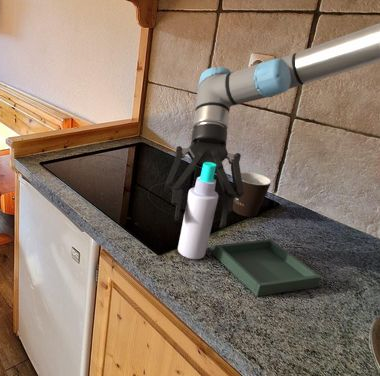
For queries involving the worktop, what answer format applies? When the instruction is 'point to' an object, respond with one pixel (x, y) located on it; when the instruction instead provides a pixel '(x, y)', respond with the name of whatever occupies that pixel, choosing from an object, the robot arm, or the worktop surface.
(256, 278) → the tray
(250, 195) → the coffee mug
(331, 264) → the worktop surface
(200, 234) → the spray bottle
